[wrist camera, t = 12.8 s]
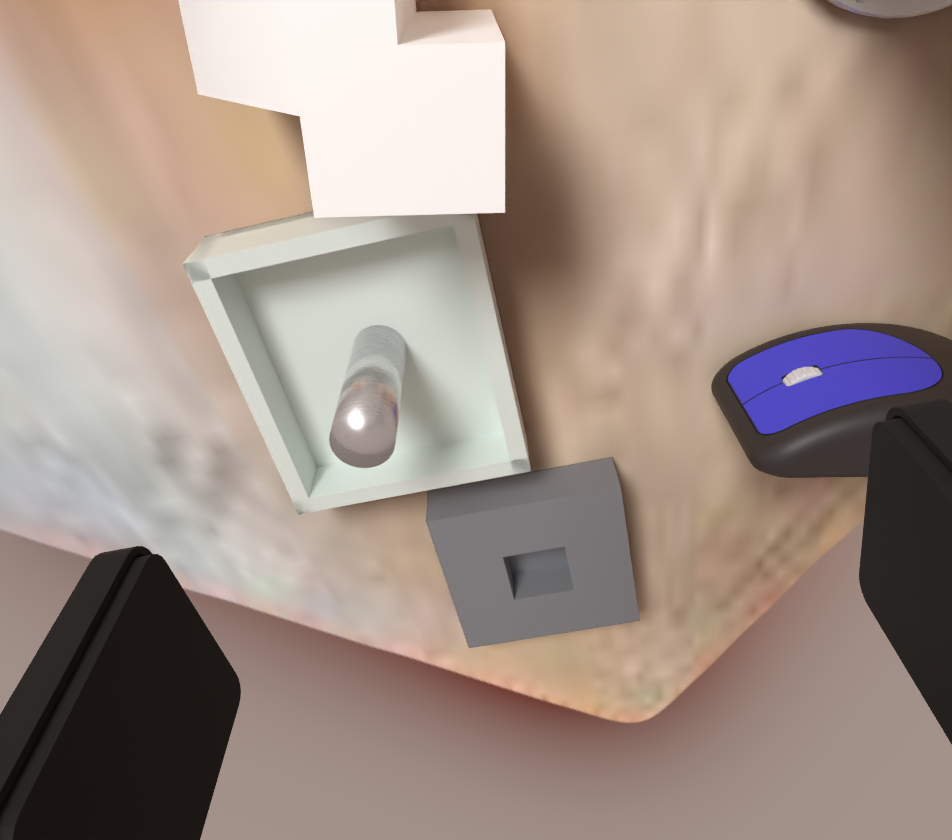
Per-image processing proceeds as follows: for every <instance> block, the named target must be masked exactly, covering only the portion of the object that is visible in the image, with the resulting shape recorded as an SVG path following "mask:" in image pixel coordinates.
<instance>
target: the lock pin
mask: <svg viewBox="0 0 952 840" xmlns="http://www.w3.org/2000/svg"><path fill="white" fill-rule="evenodd" d="M406 356H407V346H406V342H405V340H404V338H403V337H402V336H401V334H400V333H399V332H397V331H396V330H395V329H393V328H391V327H388V326H384V325H372V326H369V327H366V328H364V329H363V330H362V331H360V332H359V333H358V334H357V336H356V338H355V340H354V343H353V347H352V351H351V354H350V358H349V362H348V366H347V370H346V374H345V377H344V381H343V385H342V389H341V393H340V397H339V400H338V404H337V408H336V412H335V416H334V420H333V423H332V427H331V431H330V436H329V443H330V447H331V449H332V451H333V453H334V454H335V455H336V457H337V458H339V459H340V460H341V461H342V462H344V463H346V464H348V465H350V466H353V467H358V468H372V467H376V466H378V465H381V464H383V463H384V462H386V461H387V460H388V459H389V458H390V457H391V455H392V454H393V452H394V449H395V443H396V435H397V427H398V419H399V411H400V403H401V395H402V387H403V380H404V372H405V364H406Z"/></svg>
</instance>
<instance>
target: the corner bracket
mask: <svg viewBox="0 0 952 840" xmlns="http://www.w3.org/2000/svg"><path fill="white" fill-rule="evenodd" d="M178 1H179V6H180V10H181V15H182V20H183V24H184V29H185V34H186V39H187V43H188V48H189V53H190V58H191V62H192V67H193V72H194V76H195V81H196V86H197V91H198V94H199V95H204V96H209V97H213V98H218V99H222V100H227V101H231V102H236V103H241V104H245V105H250V106H254V107H259V108H263V109H268V110H273V111H277V112H282V113H286V114H291V115H295V116H300V122H301V129H302V136H303V143H304V150H305V157H306V163H307V170H308V177H309V184H310V191H311V198H312V205H313V212H314V218H324V217H361V216H399V215H436V214H473V213H505V41H504V38H503V36H502V34H501V31H500V29H499V27H498V24H497V22H496V20H495V17H494V15H493V13H492V10H458V11H419V12H416V0H178Z"/></svg>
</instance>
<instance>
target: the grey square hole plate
mask: <svg viewBox="0 0 952 840" xmlns="http://www.w3.org/2000/svg"><path fill="white" fill-rule="evenodd" d="M426 523H427V526H428V529H429V532H430V535H431V538H432V541H433V544H434V547H435V550H436V552H437V555H438V558H439V561H440V564H441V567H442V570H443V573H444V576H445V579H446V582H447V585H448V588H449V591H450V594H451V597H452V600H453V603H454V605H455V608H456V611H457V614H458V617H459V620H460V623H461V626H462V629H463V632H464V635H465V638H466V641H467V644H468V647H469V648H473V647H479V646H486V645H492V644H498V643H504V642H510V641H517V640H523V639H529V638H535V637H542V636H548V635H554V634H560V633H566V632H573V631H579V630H585V629H591V628H597V627H604V626H610V625H616V624H622V623H628V622H635V621H640V619H639V612H638V605H637V598H636V591H635V583H634V576H633V569H632V562H631V555H630V548H629V541H628V534H627V527H626V520H625V513H624V506H623V498H622V491H621V486H620V482H619V479H618V475H617V472H616V469H615V465H614V462H613V458H612V457H610V458H605V459H600V460H594V461H589V462H583V463H578V464H572V465H567V466H562V467H556V468H551V469H545V470H540V471H535V472H529V473H524V474H518V475H513V476H507V477H502V478H497V479H491V480H486V481H480V482H475V483H470V484H464V485H459V486H453V487H448V488H442V489H437V490H432V491H428V498H427V516H426Z"/></svg>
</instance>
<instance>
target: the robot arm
mask: <svg viewBox="0 0 952 840" xmlns="http://www.w3.org/2000/svg"><path fill="white" fill-rule="evenodd" d="M827 1H829V2H830V3H832V4H833V5H835V6H836V7H839V8H842V9H845V10H848V11H851V12H854V13H857V14H860V15H865V16H872V17H878V18H910V17H914V16H918V15H923V14H927V13H931V12H935V11H939V10H941V9H944V8H946V7H948V6H951V5H952V0H827ZM859 580H860V586H861V590H862V593H863V595H864V598H865V601H866V603H867V604H868V606H869V608H870V610H871V611H872V613H873V615H874V616H875V618H876V620H877V621H878V623H879V624H880V626H881V628H882V629H883V631H884V633H885V634H886V636H887V638H888V639H889V641H890V643H891V644H892V646H893V647H894V649H895V651H896V653H897V654H898V656H899V658H900V659H901V661H902V663H903V664H904V666H905V668H906V669H907V671H908V673H909V674H910V676H911V677H912V679H913V681H914V683H915V684H916V686H917V687H918V689H919V691H920V692H921V694H922V696H923V697H924V699H925V701H926V702H927V704H928V706H929V707H930V709H931V711H932V712H933V714H934V716H935V717H936V719H937V721H938V722H939V724H940V725H941V727H942V728H943V731H944V732H945V734H946V736H947V737H948V739H949V741H950V742H951V744H952V403H951V402H949V401H948V400H946V399H941V398H939V399H934V400H928V401H923V402H918V403H912V404H907V405H901V406H896V407H893V408H891V409H890V410H889V411H888V413H887V415H886V419H885V421H880V422H877V423H876V424H875V425H874V427H873V431H872V440H871V451H870V462H869V473H868V484H867V495H866V505H865V516H864V527H863V538H862V549H861V559H860V570H859ZM240 694H241V690H240V683H239V679H238V676H237V674H236V673H235V671H234V670H233V668H232V666H231V665H230V663H229V662H228V660H227V658H226V657H225V655H224V653H223V652H222V650H221V649H220V647H219V646H218V644H217V642H216V641H215V639H214V638H213V636H212V635H211V633H210V631H209V630H208V628H207V627H206V625H205V623H204V622H203V620H202V619H201V617H200V615H199V614H198V612H197V611H196V609H195V607H194V606H193V604H192V603H191V601H190V600H189V598H188V596H187V595H186V593H185V591H184V590H183V588H182V587H181V585H180V583H179V582H178V580H177V579H176V577H175V575H174V574H173V572H172V571H171V569H170V568H169V566H168V564H167V563H166V561H165V560H164V559H163V557H162V556H160V555H158V554H152V553H151V552H150V551H149V550H148V549H147V548H145V547H143V546H136V547H131V548H126V549H120V550H115V551H109V552H104V553H100V554H98V555H96V556H95V557H94V558H93V559H92V561H91V562H90V564H89V565H88V567H87V569H86V570H85V572H84V574H83V575H82V577H81V579H80V580H79V582H78V584H77V586H76V587H75V589H74V591H73V592H72V594H71V596H70V597H69V599H68V601H67V602H66V604H65V606H64V608H63V609H62V611H61V613H60V614H59V616H58V618H57V620H56V621H55V623H54V624H53V626H52V628H51V630H50V631H49V633H48V635H47V636H46V638H45V640H44V641H43V643H42V645H41V647H40V648H39V650H38V652H37V653H36V655H35V657H34V658H33V660H32V662H31V664H30V665H29V667H28V668H27V670H26V672H25V673H24V675H23V677H22V679H21V680H20V682H19V684H18V685H17V687H16V689H15V691H14V692H13V694H12V695H11V697H10V699H9V701H8V702H7V704H6V706H5V707H4V709H3V711H2V712H1V714H0V840H200V838H201V834H202V831H203V827H204V824H205V820H206V817H207V813H208V810H209V806H210V803H211V799H212V796H213V792H214V789H215V786H216V782H217V779H218V775H219V772H220V768H221V765H222V761H223V758H224V755H225V751H226V748H227V744H228V741H229V737H230V734H231V730H232V727H233V724H234V720H235V717H236V713H237V710H238V706H239V702H240Z"/></svg>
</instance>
